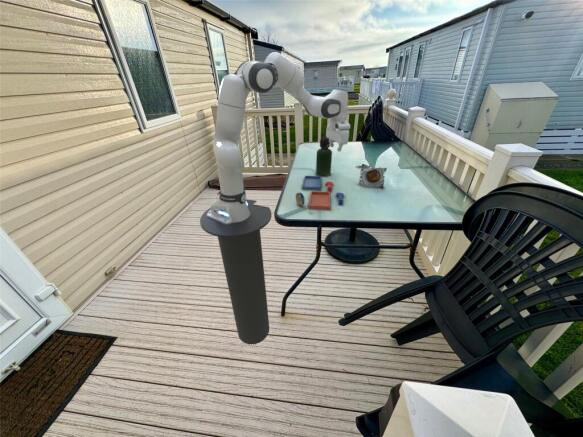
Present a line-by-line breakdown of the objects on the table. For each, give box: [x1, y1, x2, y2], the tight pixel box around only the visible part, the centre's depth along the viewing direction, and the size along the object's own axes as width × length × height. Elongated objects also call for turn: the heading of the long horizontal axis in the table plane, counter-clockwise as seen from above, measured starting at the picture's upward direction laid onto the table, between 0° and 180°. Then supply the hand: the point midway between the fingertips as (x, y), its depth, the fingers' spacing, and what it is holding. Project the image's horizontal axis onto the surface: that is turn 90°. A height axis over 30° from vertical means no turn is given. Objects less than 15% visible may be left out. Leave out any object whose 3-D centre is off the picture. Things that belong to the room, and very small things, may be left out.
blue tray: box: [301, 175, 322, 191], centre depth 159 cm, size 18×11×2 cm, turn 172°
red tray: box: [308, 190, 331, 211], centre depth 138 cm, size 18×11×2 cm, turn 172°
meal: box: [358, 163, 388, 189], centre depth 152 cm, size 15×4×13 cm, turn 68°
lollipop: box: [295, 191, 312, 214], centre depth 131 cm, size 7×1×15 cm
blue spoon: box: [335, 191, 345, 206], centre depth 139 cm, size 13×4×3 cm, turn 172°
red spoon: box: [325, 180, 334, 193], centre depth 153 cm, size 13×4×3 cm, turn 172°
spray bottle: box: [315, 136, 333, 178], centre depth 167 cm, size 10×10×25 cm
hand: (335, 148), depth 138 cm, fingers open, 8 cm apart
